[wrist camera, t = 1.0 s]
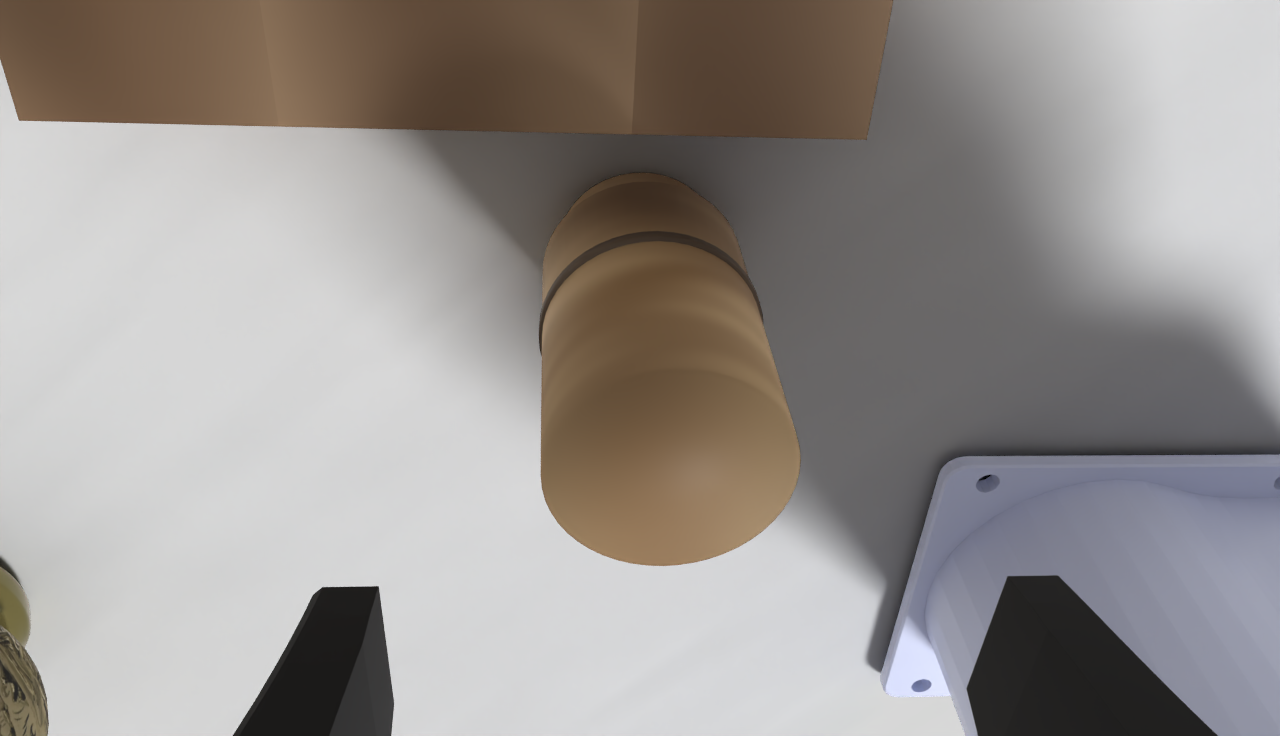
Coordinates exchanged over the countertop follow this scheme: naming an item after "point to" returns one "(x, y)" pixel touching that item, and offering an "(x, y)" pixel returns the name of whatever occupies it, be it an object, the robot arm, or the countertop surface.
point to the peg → (658, 380)
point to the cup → (18, 666)
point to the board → (453, 64)
